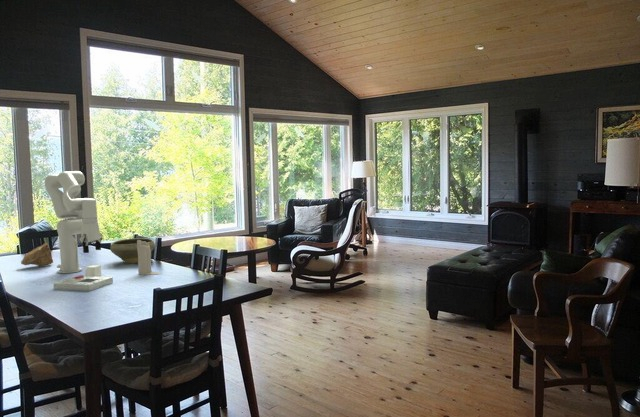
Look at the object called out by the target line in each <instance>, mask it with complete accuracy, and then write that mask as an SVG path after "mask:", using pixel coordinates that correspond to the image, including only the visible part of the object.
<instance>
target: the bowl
mask: <svg viewBox="0 0 640 417" xmlns="http://www.w3.org/2000/svg"><path fill="white" fill-rule="evenodd" d="M137 240H141V241H146V243H149V245H150V250H151V252H153V250H154V249H155V248H156V243H155V241H154V240H153V239H151V238H148V237H147V238H146V237H137V238H136V237H135V238H123V239H117V240H114V241H113V242H110V247H109V248H110V252H111V253H112V254H114V255H115V256H116V257H117V258H119V259H121V260H122V261H123V262H124V263H127V264H136V263H137V264H138V251H137Z"/></svg>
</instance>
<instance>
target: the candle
mask: <svg viewBox="0 0 640 417" xmlns="http://www.w3.org/2000/svg"><path fill="white" fill-rule="evenodd" d="M137 251H138V262H137V267H138V268H137V269H138V275H141V276H143V275H144V276H145V275H146V276H150V275H151V276H153V275H161V274H162V272H159V271H152V262H151V261H152V260H151V258H152V251H151V250H150V245H149V243H146V241H141V240H137Z"/></svg>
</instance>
